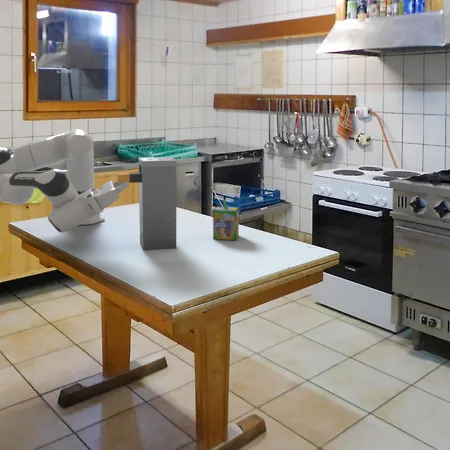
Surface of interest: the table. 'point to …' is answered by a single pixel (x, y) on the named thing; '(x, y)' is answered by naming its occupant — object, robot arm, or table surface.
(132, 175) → the plug rod
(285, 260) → the table surface
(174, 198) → the housing
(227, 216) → the chalk box
